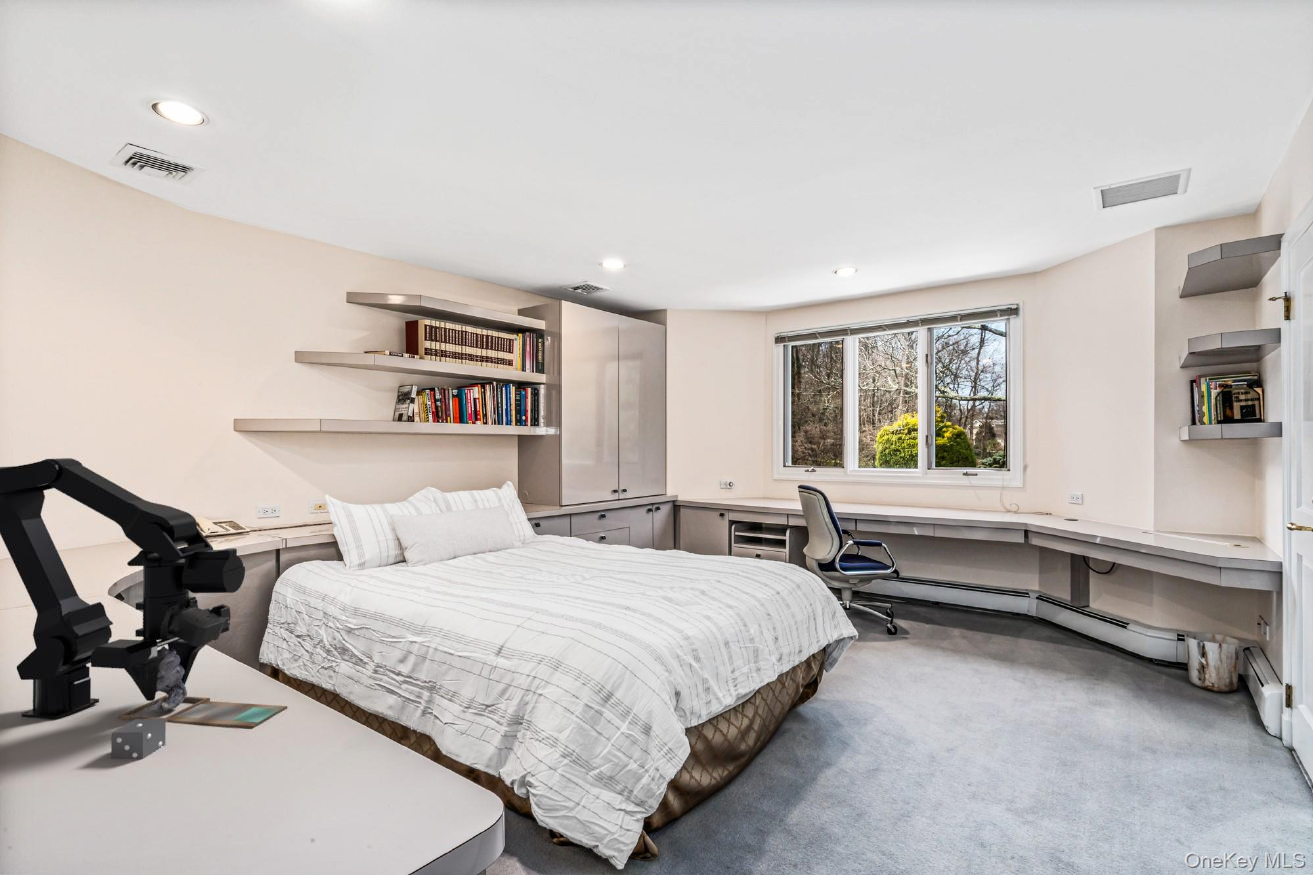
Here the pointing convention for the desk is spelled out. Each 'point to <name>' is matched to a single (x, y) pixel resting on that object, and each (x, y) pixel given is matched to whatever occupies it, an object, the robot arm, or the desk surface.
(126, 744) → the die
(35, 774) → the desk surface
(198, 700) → the frame
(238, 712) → the board
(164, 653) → the seashell
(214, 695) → the desk surface
